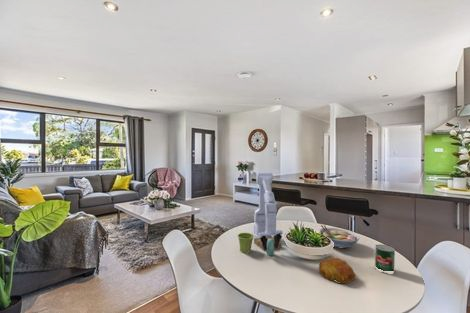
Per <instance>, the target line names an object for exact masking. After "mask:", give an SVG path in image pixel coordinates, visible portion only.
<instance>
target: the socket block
mask: <svg viewBox="0 0 470 313" xmlns="http://www.w3.org/2000/svg"><path fill="white" fill-rule="evenodd" d="M266 238H267V239H273V240H274V236H266ZM253 244H254V245H255V246H257V247H259V248H260V249H261V250H262V251H263V252H265V251H266V252H267V249H266V250H264V249H263V245H262V242H261V239H260V237H259V238H257V237H254V238H253ZM277 249H282V242H281V241H280V242H279V244H278V248H275V247H274V250H277Z"/></svg>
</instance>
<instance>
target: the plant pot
mask: <svg viewBox="0 0 470 313" xmlns="http://www.w3.org/2000/svg"><path fill="white" fill-rule="evenodd" d="M237 237H238V241H239V242H238V243H239V251H240V252H241V253H245V254H247V253H250V252H251V251H252V244H253V241H254V238H255V236H254V235H253V233H249V232H239V233H238V234H237Z"/></svg>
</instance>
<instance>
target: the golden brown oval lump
mask: <svg viewBox="0 0 470 313" xmlns="http://www.w3.org/2000/svg"><path fill="white" fill-rule="evenodd" d="M318 265H319V266H318V272H319V274H320V275H321V276H322V277H323V278H324V279H326V280H330V281H332V280H336V281H337V282H340V283H339V284H347V283H346V282H348V283H350V282H352V281H353V280H355V278H356V273H355V272H354V269H353V267H351V266H350V264H348V263H347V262H346V261H345V260H343V259H341V258H338V257H330V258H326V259H324V260H322V261H320V262H319V264H318ZM336 281H335V282H336ZM349 281H350V282H349ZM337 282H336V283H337Z"/></svg>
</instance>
